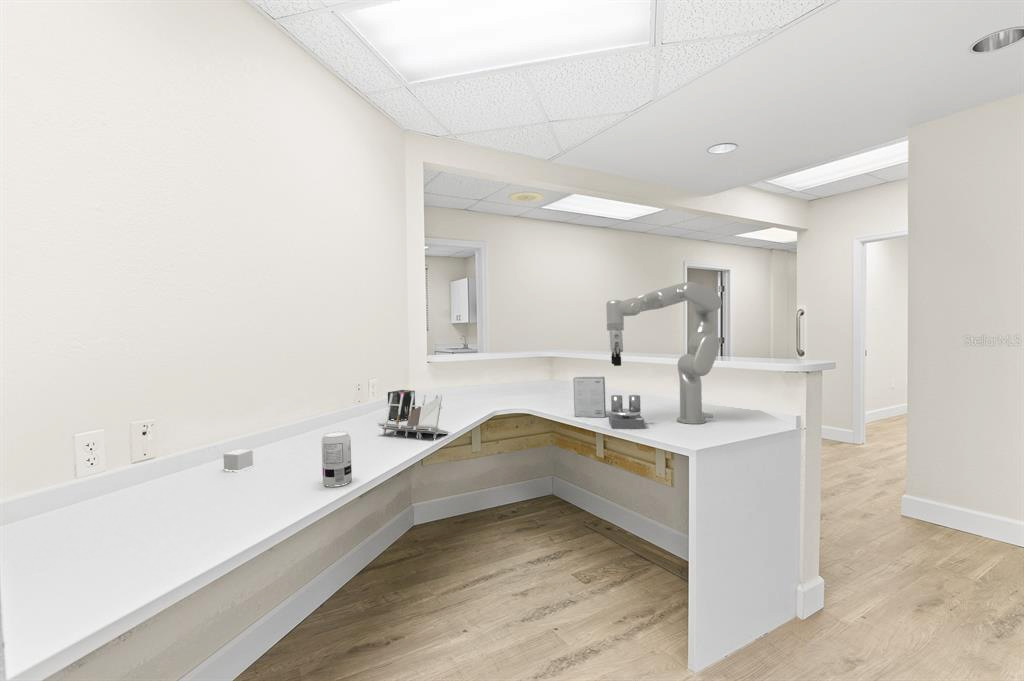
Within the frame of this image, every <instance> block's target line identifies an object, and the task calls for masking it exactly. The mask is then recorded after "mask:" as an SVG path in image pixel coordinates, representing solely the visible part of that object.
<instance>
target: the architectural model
mask: <svg viewBox="0 0 1024 681" xmlns="http://www.w3.org/2000/svg"><path fill="white" fill-rule="evenodd" d="M403 395H404V394H401V399H400V404H399V405H398V404H391V402H392V397H393V393H391V395H390V400H389V404H388V403H386V406H388V405H389V406H388V407H387V412H386V418H385V422H383V423H379V422H378V423H377V426H376V427H378V428H380V427H381V428H382V430H383V434H387V430H389V431H394V434H393V436H394V435H396V436H397V434H398V431H400V432H405V434H404V437H405V436H406V437H407V438H408V434H409V432H410V433H416V436H415V438H416V437H419V438H418V439H420V438H421V437H422V438H423V436H422V434H431V435H432V434H433V438H434V439H435V438H437V435H444V434H448V433H449V434H450V431H448V430H444V429H440V427H439V426H438V425H439V418H440V413H441V409H443V407H442V400H443V395H438V394H437V395H435V396H434V398H433V400H431V401H428V402H426V403H425V401H426V394H423V395H422V401H421V405H416V404H415V405H413V401H414V394H412V399H411V404H410V410H409V416H408V420H407V423H406V425H402V424H399V422H400V421H399V418H400V412H401V406H402V401H403ZM391 405H394V406H399V410H398V416H397V421H395V422H396V423H389V413H390V408H391ZM412 407H415V410H414V409H413V410H412ZM433 438H432V439H433ZM435 440H436V439H435Z"/></svg>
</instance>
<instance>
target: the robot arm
mask: <svg viewBox="0 0 1024 681" xmlns="http://www.w3.org/2000/svg"><path fill="white" fill-rule="evenodd" d="M687 301H689V302H690V306H691V308H692V310H693V312H694V314H695V318H696V321H695V325H694V328H693V329H692V332H691V334H690V337H689V339H688V343H687V344H688V346H687V347H688V348H689V350H690V351H692V352H693V353H694V354H693V353H686V354H683V355H682V356H680V357H679V359H678V360H677V371H678V376H679V416H677V418H676V422H678V423H681V424H689V425H691V424H692V425H697V424H699V425H701V424H705V423H706V419H707V418H708V419H712V418H714V414H713V413H705V412H703V407H702V406H703V403H702V400H703V399H702V398H703V396H702V392H703V391H702V386H703V385H702V379H701V377H704V376H707V375H708V374H710V371H711V370H712V368H713V365H714V364H715V360H716V358H717V356H718V353H719V351H720V346H721V343H720V339H719V337H718V336H717V335H716V334H715V333H714V331H715V328H716V324H717V322H716V321H717V320H716V316H715V314H714V312H716V311H718V310H719V309H721V307H722V298H721V297H720V295H719V294H718V293H716V292H714V291H713V290H711V289H708V288H707V287H705V286H703V285H701V284H699V283H697V282H694V281H687V282H681V283H678V284H677V283H676V284H675V285H671V286H667V287H663V288H661V289H657V290H653V291H651V292H648V293H645V294H642V295H639V296H638V295H637V296H635V297H632V298H628V299H625V300H624V299H623V300H619V299H615V300H614V299H613V300H608V301H607V302H606V304H605V306H606V331H607V332H609V346H610V348H609V349H610V352H611V358H610V359H611V364H612V365H613V366H614V367H621V366H622V356H621V355H622V354H621V353H624V343H623V331H624V330H625V324H624V317H632V316H633V317H634V316H637V315H639V314H640V313H642V312H645V311H646V312H647V311H651V310H660V309H663V308H666V307H669V306H672V305H676V304H679V303H684V302H687Z"/></svg>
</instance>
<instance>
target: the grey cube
mask: <svg viewBox="0 0 1024 681" xmlns="http://www.w3.org/2000/svg"><path fill="white" fill-rule="evenodd" d="M253 454H254V452H253V449H241V448H240V449H239V448H238V449H235V450H233V451H228V452H226V453H223V470H224V469H228V470H241V469H243V468H246V467H249V466H252V465H253V466H254V456H253Z"/></svg>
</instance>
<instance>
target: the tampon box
mask: <svg viewBox="0 0 1024 681" xmlns="http://www.w3.org/2000/svg"><path fill="white" fill-rule="evenodd" d="M391 393H393V397H392V402H391V404H398V405H399V404H400V399H401V394H404V395H403V401H402V406H401V412H400V418H399V420H405V419H408V416H409V410H410V404H411V399H412V394H414V401H413V405H416V391H415V390H411V389H410V390H409V389H399V390H395V391H387V404H389V400H390V395H391ZM387 406H389V405H387ZM413 409H414V410H415V409H416V407H412V410H413ZM398 410H399V406H394V405H391V408H390V413H389V418H388V420H389V419H394V420H397V416H398ZM405 421H406V420H405Z"/></svg>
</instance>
